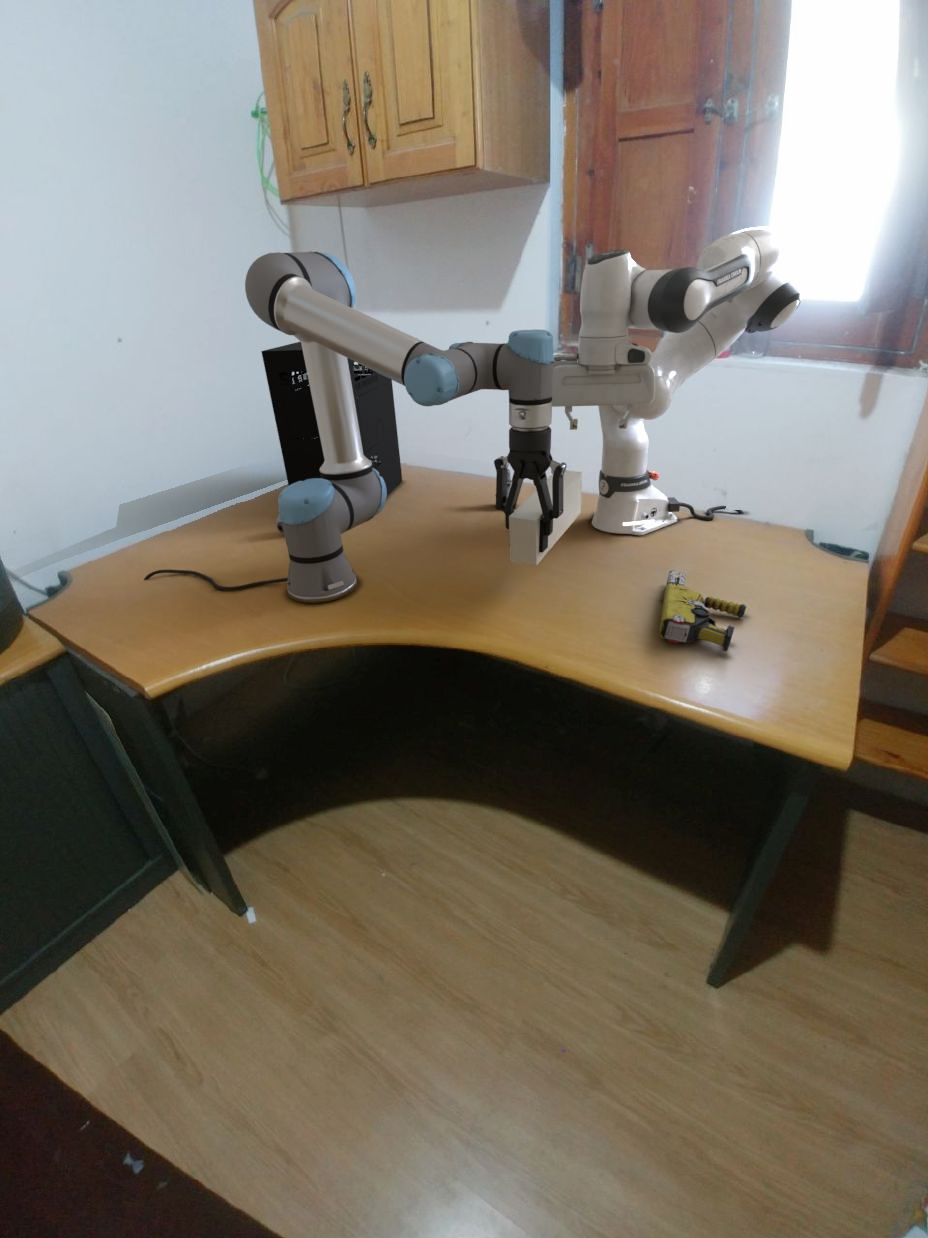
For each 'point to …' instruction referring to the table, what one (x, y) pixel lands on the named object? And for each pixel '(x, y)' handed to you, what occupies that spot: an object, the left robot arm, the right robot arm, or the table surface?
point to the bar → (530, 513)
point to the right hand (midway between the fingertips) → (597, 428)
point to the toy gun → (693, 614)
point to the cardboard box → (301, 421)
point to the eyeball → (279, 524)
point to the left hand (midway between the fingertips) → (528, 546)
